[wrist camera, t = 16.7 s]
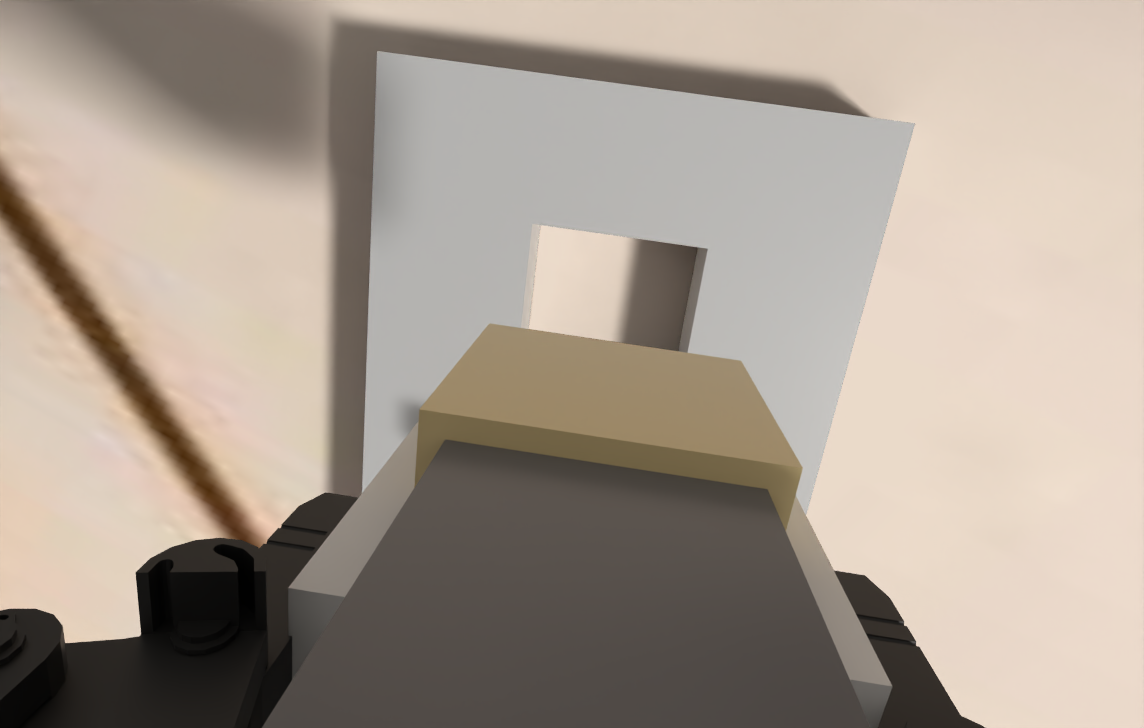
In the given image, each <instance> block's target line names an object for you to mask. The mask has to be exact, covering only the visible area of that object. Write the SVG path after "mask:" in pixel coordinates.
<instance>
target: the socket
mask: <svg viewBox="0 0 1144 728" xmlns="http://www.w3.org/2000/svg"><path fill="white" fill-rule="evenodd" d="M914 125H915V123H908V122H901V121H893V120H886V119H878V118H871V117H864V116H856V115H849V114H841V113H834V112H826V111H819V110H812V109H804V108H797V107H789V106H782V105H775V104H767V103H760V102H752V101H745V100H737V99H730V98H723V97H715V96H708V95H700V94H693V93H686V92H678V91H671V90H663V89H656V88H649V87H641V86H634V85H626V84H619V83H611V82H604V81H597V80H589V79H582V78H574V77H567V76H560V75H552V74H545V73H537V72H530V71H522V70H515V69H508V68H500V67H493V66H485V65H478V64H471V63H463V62H456V61H448V60H441V59H433V58H426V57H419V56H411V55H404V54H396V53H389V52H382V51H377V69H376V99H375V128H374V157H373V186H372V215H371V244H370V273H369V303H368V332H367V361H366V390H365V419H364V448H363V477H362V493H363V492H364V490H365V489H366V488H367V486H368V485H369V484H370V483H371V481H372V480H373V479H374V477H375V476H376V475H377V474H378V472H379V471H380V470H381V468H382V467H383V466H384V465H385V463H386V462H387V461H388V460H389V458H390V457H391V456H392V454H393V453H394V452H395V451H396V449H397V448H398V447H399V445H400V444H401V443H402V442H403V440H404V439H405V438H406V436H407V435H408V434H409V433H410V431H411V430H412V429H413V428H414V426H415V425H416V424H417V422H418V421H419V409H420V408H421V407H422V405H423V404H424V403H425V402H426V400H427V399H428V398H429V397H430V396H431V394H432V393H433V392H434V391H435V389H436V388H437V387H438V386H439V385H440V383H441V382H442V381H443V380H444V378H445V377H446V376H447V375H448V373H449V372H450V371H451V370H452V369H453V367H454V366H455V365H456V364H457V362H458V361H459V360H460V359H461V358H462V356H463V355H464V354H465V353H466V351H467V350H468V349H469V348H470V346H471V345H472V344H473V343H474V342H475V340H476V339H477V338H478V337H479V335H480V334H481V333H482V332H483V331H484V329H485V328H486V327H487V326H488V324H489V323H491V324H497V325H504V326H511V327H517V328H524V329H529V321H530V312H531V304H532V295H533V286H534V277H535V269H536V260H537V251H538V242H539V234H540V225H545V226H552V227H559V228H566V229H573V230H580V231H587V232H594V233H601V234H608V235H615V236H622V237H629V238H636V239H643V240H650V241H657V242H664V243H671V244H678V245H685V246H692V247H698V249H697V255H696V260H695V265H694V270H693V276H692V281H691V286H690V291H689V297H688V302H687V307H686V312H685V318H684V323H683V328H682V333H681V339H680V344H679V349H678V351H679V352H686V353H693V354H699V355H706V356H713V357H720V358H726V359H733V360H740V361H742V363H743V365H744V367H745V368H746V370H747V372H748V374H749V375H750V377H751V379H752V381H753V382H754V384H755V386H756V387H757V389H758V391H759V393H760V394H761V396H762V398H763V400H764V401H765V403H766V405H767V407H768V408H769V410H770V412H771V413H772V415H773V417H774V419H775V420H776V422H777V424H778V426H779V427H780V429H781V431H782V433H783V434H784V436H785V438H786V440H787V441H788V443H789V445H790V446H791V448H792V450H793V452H794V453H795V455H796V457H797V459H798V460H799V462H800V464H801V466H802V467H803V470H802V473H801V477H800V481H799V485H798V488H797V492H796V497H797V499H798V501H799V503H800V505H801V507H802V509H803V511H804V513H805V515H806V513H807V510H808V506H809V503H810V499H811V495H812V492H813V488H814V485H815V481H816V478H817V474H818V470H819V467H820V463H821V460H822V456H823V452H824V449H825V445H826V442H827V438H828V434H829V431H830V427H831V424H832V420H833V416H834V413H835V409H836V406H837V402H838V398H839V395H840V391H841V388H842V384H843V380H844V377H845V373H846V370H847V366H848V362H849V359H850V355H851V352H852V348H853V344H854V341H855V337H856V334H857V330H858V326H859V323H860V319H861V316H862V312H863V309H864V305H865V301H866V298H867V294H868V291H869V287H870V283H871V280H872V276H873V273H874V269H875V265H876V262H877V258H878V255H879V251H880V247H881V244H882V240H883V237H884V233H885V229H886V226H887V222H888V219H889V215H890V211H891V208H892V204H893V201H894V197H895V193H896V190H897V186H898V183H899V179H900V175H901V172H902V168H903V165H904V161H905V157H906V154H907V150H908V147H909V143H910V140H911V136H912V132H913V129H914Z"/></svg>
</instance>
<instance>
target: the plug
mask: <svg viewBox="0 0 1144 728" xmlns="http://www.w3.org/2000/svg"><path fill="white" fill-rule="evenodd" d="M802 470H803V467H802V466H801V464H800V462H799V460H798V459H797V457H796V455H795V453H794V452H793V450H792V448H791V446H790V445H789V443H788V441H787V440H786V438H785V436H784V434H783V433H782V431H781V429H780V427H779V426H778V424H777V422H776V420H775V419H774V417H773V415H772V413H771V412H770V410H769V408H768V407H767V405H766V403H765V401H764V400H763V398H762V396H761V394H760V393H759V391H758V389H757V387H756V386H755V384H754V382H753V381H752V379H751V377H750V375H749V374H748V372H747V370H746V368H745V367H744V365H743V363H742V361H740V360H733V359H726V358H720V357H713V356H706V355H699V354H693V353H686V352H679V351H672V350H666V349H659V348H652V347H646V346H639V345H632V344H625V343H619V342H612V341H605V340H598V339H592V338H585V337H578V336H571V335H565V334H558V333H551V332H544V331H538V330H531V329H524V328H517V327H511V326H504V325H497V324H491V323H489V324H488V326H487V327H486V328H485V329H484V331H483V332H482V333H481V334H480V335H479V337H478V338H477V339H476V340H475V342H474V343H473V344H472V345H471V346H470V348H469V349H468V350H467V351H466V353H465V354H464V355H463V356H462V358H461V359H460V360H459V361H458V362H457V364H456V365H455V366H454V367H453V369H452V370H451V371H450V372H449V373H448V375H447V376H446V377H445V378H444V380H443V381H442V382H441V383H440V385H439V386H438V387H437V388H436V389H435V391H434V392H433V393H432V394H431V396H430V397H429V398H428V399H427V400H426V402H425V403H424V404H423V405H422V407H421V408H420V409H419V422H418V438H417V454H416V469H415V485H414V489H413V491H412V492H411V494H410V496H409V497H408V499H407V500H406V502H405V503H404V505H403V507H402V508H401V510H400V511H399V513H398V514H397V516H396V518H395V519H394V521H393V522H392V524H391V525H390V527H389V529H388V530H387V532H386V533H385V535H384V536H383V538H382V540H381V541H380V543H379V544H378V546H377V547H376V549H375V551H374V552H373V554H372V555H371V557H370V558H369V560H368V562H367V563H366V565H365V566H364V568H363V569H362V571H361V573H360V574H359V576H358V577H357V579H356V580H355V582H354V584H353V585H352V587H351V588H350V590H349V591H348V593H347V595H346V596H345V598H344V599H343V601H342V602H341V604H340V606H339V607H338V609H337V610H336V612H335V614H334V615H333V617H332V618H331V620H330V621H329V623H328V625H327V626H326V628H325V629H324V631H323V632H322V634H321V636H320V637H319V639H318V640H317V642H316V643H315V645H314V647H313V648H312V650H311V651H310V653H309V654H308V656H307V658H306V659H305V661H304V662H303V664H302V665H301V667H300V669H299V670H298V672H297V673H296V675H295V676H294V678H293V680H292V681H291V683H290V684H289V686H288V687H287V689H286V691H285V692H284V694H283V695H282V697H281V698H280V700H279V702H278V703H277V705H276V706H275V708H274V709H273V711H272V713H271V714H270V716H269V717H268V719H267V720H266V722H265V724H264V725H263V727H262V728H871V727H870V725H869V723H868V720H867V718H866V716H865V713H864V711H863V709H862V707H861V704H860V702H859V700H858V697H857V695H856V693H855V690H854V688H853V686H852V683H851V681H850V679H849V676H848V674H847V672H846V670H845V667H844V665H843V663H842V660H841V658H840V656H839V653H838V651H837V649H836V646H835V644H834V642H833V639H832V637H831V635H830V633H829V630H828V628H827V626H826V623H825V621H824V619H823V616H822V614H821V612H820V609H819V607H818V605H817V602H816V600H815V598H814V596H813V593H812V591H811V589H810V586H809V584H808V582H807V579H806V577H805V575H804V572H803V570H802V568H801V565H800V563H799V561H798V559H797V556H796V554H795V552H794V549H793V547H792V545H791V542H790V540H789V538H788V535H787V533H786V529H787V525H788V522H789V518H790V514H791V511H792V507H793V503H794V499H795V496H796V492H797V488H798V485H799V481H800V477H801V473H802Z"/></svg>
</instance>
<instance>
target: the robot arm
mask: <svg viewBox="0 0 1144 728" xmlns="http://www.w3.org/2000/svg"><path fill="white" fill-rule="evenodd" d="M418 422H419V421H418ZM418 422H417V424H416V425H415V426H414V428H413V429H412V430H411V431H410V433H409V434H408V435H407V436H406V438H405V439H404V440H403V442H402V443H401V444H400V445H399V447H398V448H397V449H396V451H395V452H394V453H393V454H392V456H391V457H390V458H389V460H388V461H387V462H386V463H385V465H384V466H383V467H382V468H381V470H380V471H379V472H378V474H377V475H376V476H375V477H374V479H373V480H372V481H371V483H370V484H369V485H368V486H367V488H366V489H365V490H364V492H363V493H362V494H361V495H360V497H359V498H357V497H350V496H344V495H338V494H331V493H324V494H322V495H320V496H318V497H316V498H314V499H312V500H310V501H308V502H306V503H304V504H302V505H300V506H299V507H298V508H297V509H296V510H295V511H294V512H293V513H292V514H291V515H290V516H289V517H288V518H287V519H286V521H285V522H284V523H283V524H282V526H281V528H278V529H277V530H276V531H275V532H274V533H273V534H272V536H271V537H270V538H269V539H268V540H267V544H263V545H262V546H261V547H260V548H258V547H256V546H254V545H252V544H249V543H247V542H245V541H242V540H235V539H226V538H214V539H204V540H195V541H192V542H188V543H185V544H181V545H178V546H174V547H171V548H169V549H167V550H165V551H164V552H162V553H160V554H158V555H156V556H154V557H152V558H150V559H149V560H148V561H147V562H146V563H145V564H144V565H143V566H142V567H141V568H140V569H139V570H138V571H137V572H136V581H137V592H138V603H139V614H140V625H141V635H140V637H133V638H126V639H117V640H104V641H91V642H78V643H65V640H64V633H63V626H62V625H61V623H60V622H59V621H58V619H57V618H56V617H55V616H54V615H53V614H50V613H47V612H44V611H41V610H38V609H7V610H2V611H0V728H262V727H263V725H264V724H265V722H266V720H267V719H268V717H269V716H270V714H271V713H272V711H273V709H274V708H275V706H276V705H277V703H278V702H279V700H280V698H281V697H282V695H283V694H284V692H285V691H286V689H287V687H288V686H289V684H290V683H291V681H292V680H293V678H294V676H295V675H296V673H297V672H298V670H299V669H300V667H301V665H302V664H303V662H304V661H305V659H306V658H307V656H308V654H309V653H310V651H311V650H312V648H313V647H314V645H315V643H316V642H317V640H318V639H319V637H320V636H321V634H322V632H323V631H324V629H325V628H326V626H327V625H328V623H329V621H330V620H331V618H332V617H333V615H334V614H335V612H336V610H337V609H338V607H339V606H340V604H341V602H342V601H343V599H344V598H345V596H346V595H347V593H348V591H349V590H350V588H351V587H352V585H353V584H354V582H355V580H356V579H357V577H358V576H359V574H360V573H361V571H362V569H363V568H364V566H365V565H366V563H367V562H368V560H369V558H370V557H371V555H372V554H373V552H374V551H375V549H376V547H377V546H378V544H379V543H380V541H381V540H382V538H383V536H384V535H385V533H386V532H387V530H388V529H389V527H390V525H391V524H392V522H393V521H394V519H395V518H396V516H397V514H398V513H399V511H400V510H401V508H402V507H403V505H404V503H405V502H406V500H407V499H408V497H409V496H410V494H411V492H412V491H413V489H414V485H415V469H416V454H417V438H418ZM786 533H787V535H788V538H789V540H790V542H791V545H792V547H793V549H794V552H795V554H796V556H797V559H798V561H799V563H800V565H801V568H802V570H803V572H804V575H805V577H806V579H807V582H808V584H809V586H810V589H811V591H812V593H813V596H814V598H815V600H816V602H817V605H818V607H819V609H820V612H821V614H822V616H823V619H824V621H825V623H826V626H827V628H828V630H829V633H830V635H831V637H832V639H833V642H834V644H835V646H836V649H837V651H838V653H839V656H840V658H841V660H842V663H843V665H844V667H845V670H846V672H847V674H848V676H849V679H850V681H851V683H852V686H853V688H854V690H855V693H856V695H857V697H858V700H859V702H860V704H861V707H862V709H863V711H864V713H865V716H866V718H867V720H868V723H869V725H870V727H871V728H985V727H983V726H982V725H980V724H977V723H975V722H973V721H971V720H969V719H967V718H964V717H962V716H961V715H960V714H959V712H958V710H957V709H956V707H955V705H954V704H953V702H952V701H951V699H950V697H949V696H948V694H947V692H946V691H945V689H944V687H943V686H942V684H941V682H940V681H939V679H938V677H937V676H936V674H935V672H934V671H933V669H932V667H931V666H930V664H929V662H928V661H927V659H926V657H925V656H924V654H923V652H922V651H921V649H920V647H917V646H916V641H915V639H914V637H913V636H912V634H911V632H910V631H909V629H908V627H907V626H904V621H903V619H902V617H901V616H900V614H899V612H898V611H897V609H896V607H895V606H894V604H893V602H892V601H891V599H890V598H889V597H888V596H887V595H886V594H885V593H884V592H883V591H882V590H880V589H879V588H878V587H877V586H876V585H875V584H874V583H873V582H871V581H870V580H869V579H868V578H867V577H866V576H864V575H858V574H852V573H845V572H839V571H834V570H833V568H832V566H831V564H830V562H829V560H828V558H827V556H826V554H825V552H824V550H823V548H822V546H821V544H820V542H819V540H818V538H817V536H816V534H815V532H814V530H813V528H812V526H811V524H810V522H809V520H808V519H807V517H806V515H805V513H804V511H803V509H802V507H801V505H800V503H799V501H798V499H797V497H796V496H795V499H794V503H793V507H792V511H791V514H790V518H789V522H788V525H787V529H786Z"/></svg>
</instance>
